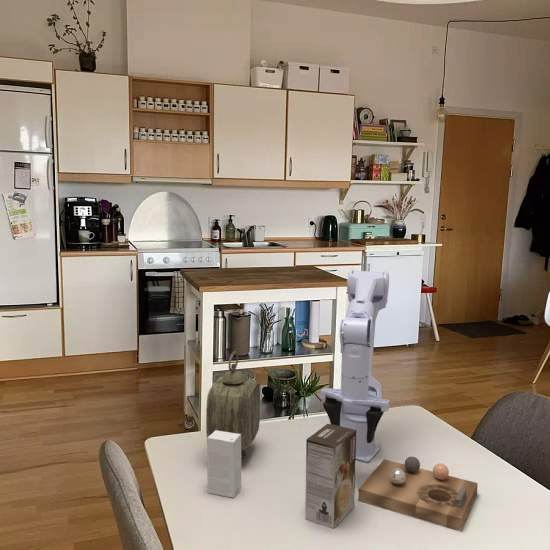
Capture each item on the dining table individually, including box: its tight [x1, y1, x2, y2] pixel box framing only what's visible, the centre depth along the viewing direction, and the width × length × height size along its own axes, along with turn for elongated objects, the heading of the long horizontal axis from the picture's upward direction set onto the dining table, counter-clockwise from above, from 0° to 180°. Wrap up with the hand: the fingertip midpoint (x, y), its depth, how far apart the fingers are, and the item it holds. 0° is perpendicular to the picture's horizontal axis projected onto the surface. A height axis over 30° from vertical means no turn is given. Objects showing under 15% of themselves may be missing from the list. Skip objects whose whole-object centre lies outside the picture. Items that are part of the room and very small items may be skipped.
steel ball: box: [390, 468, 406, 485], centre depth 114 cm, size 3×3×3 cm
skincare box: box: [206, 430, 242, 498], centre depth 115 cm, size 6×4×12 cm
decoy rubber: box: [404, 456, 421, 472], centre depth 119 cm, size 3×3×3 cm
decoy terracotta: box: [432, 463, 450, 480], centre depth 116 cm, size 3×3×3 cm
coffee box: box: [304, 423, 357, 529], centre depth 107 cm, size 9×6×16 cm
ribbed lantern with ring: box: [205, 350, 261, 458], centre depth 129 cm, size 14×9×25 cm, turn 168°
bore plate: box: [357, 458, 479, 532], centre depth 114 cm, size 20×15×4 cm
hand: (352, 437), depth 118 cm, fingers open, 7 cm apart
